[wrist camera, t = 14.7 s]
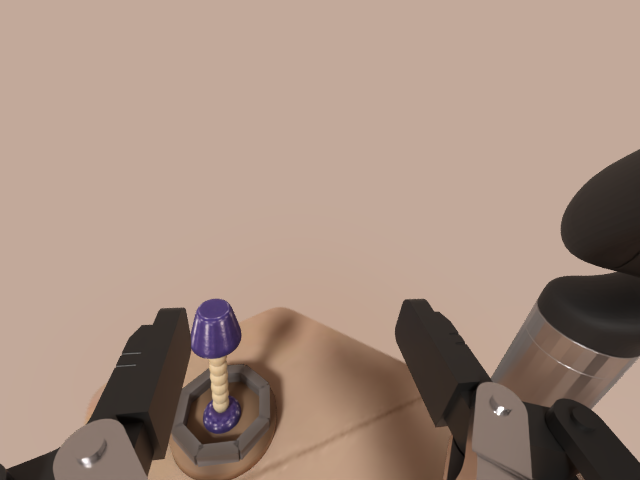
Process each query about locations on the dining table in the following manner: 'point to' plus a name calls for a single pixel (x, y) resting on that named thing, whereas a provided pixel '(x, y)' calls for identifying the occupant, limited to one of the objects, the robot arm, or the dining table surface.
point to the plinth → (233, 446)
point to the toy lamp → (217, 360)
